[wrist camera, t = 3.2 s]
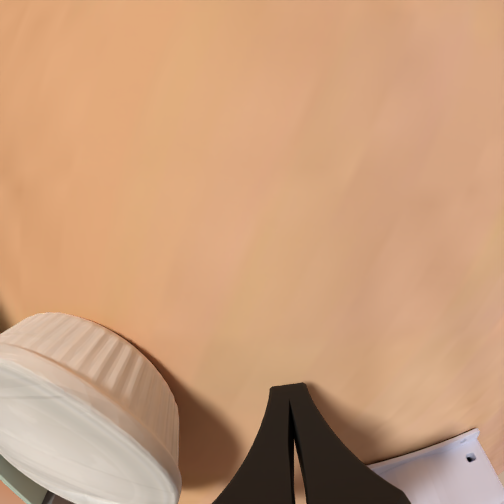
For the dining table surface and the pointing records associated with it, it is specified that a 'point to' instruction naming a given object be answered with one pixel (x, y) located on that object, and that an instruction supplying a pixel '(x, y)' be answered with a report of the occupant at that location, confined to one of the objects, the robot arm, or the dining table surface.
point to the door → (21, 483)
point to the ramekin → (87, 413)
